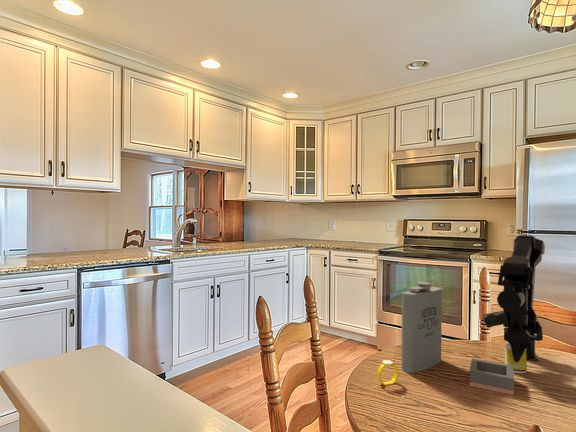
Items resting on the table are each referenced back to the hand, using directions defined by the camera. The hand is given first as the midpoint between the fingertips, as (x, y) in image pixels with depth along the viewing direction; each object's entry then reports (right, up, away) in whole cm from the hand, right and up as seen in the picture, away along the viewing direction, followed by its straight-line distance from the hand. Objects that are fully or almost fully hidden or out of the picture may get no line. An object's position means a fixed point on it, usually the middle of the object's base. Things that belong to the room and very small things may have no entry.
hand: (515, 358), depth 107 cm
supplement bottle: (0, -4, 0) cm, 4 cm away
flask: (-26, -4, +3) cm, 26 cm away
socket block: (-12, -3, -8) cm, 15 cm away
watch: (-40, -3, -9) cm, 41 cm away
